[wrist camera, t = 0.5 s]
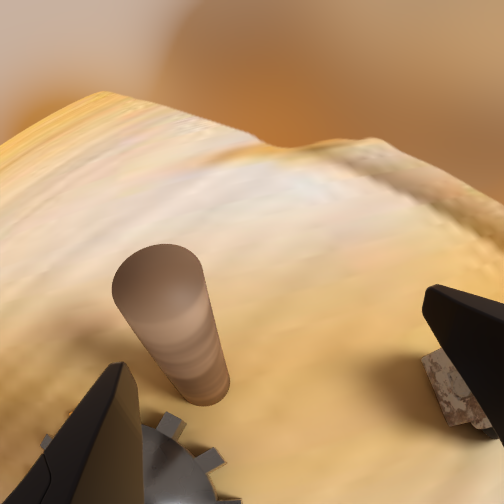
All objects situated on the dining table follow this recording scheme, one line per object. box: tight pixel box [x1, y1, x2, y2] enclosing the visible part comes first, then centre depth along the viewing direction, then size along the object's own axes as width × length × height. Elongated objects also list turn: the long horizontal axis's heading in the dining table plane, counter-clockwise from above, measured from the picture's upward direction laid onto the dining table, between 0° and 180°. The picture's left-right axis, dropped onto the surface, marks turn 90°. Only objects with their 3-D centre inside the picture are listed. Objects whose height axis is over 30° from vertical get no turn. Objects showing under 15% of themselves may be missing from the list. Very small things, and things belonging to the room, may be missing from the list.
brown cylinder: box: [112, 244, 230, 406], centre depth 17 cm, size 4×4×13 cm
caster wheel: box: [421, 348, 499, 439], centre depth 17 cm, size 7×11×10 cm
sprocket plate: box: [40, 412, 243, 504], centre depth 14 cm, size 16×16×2 cm
